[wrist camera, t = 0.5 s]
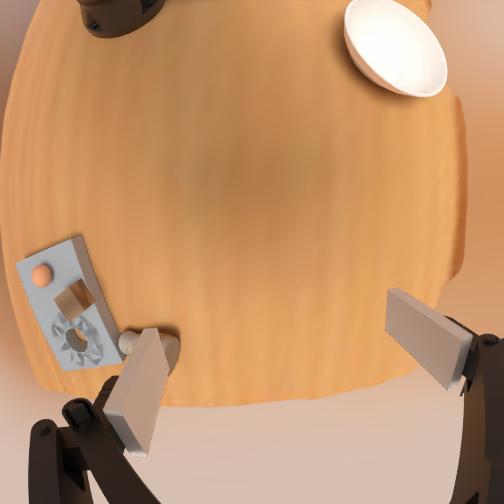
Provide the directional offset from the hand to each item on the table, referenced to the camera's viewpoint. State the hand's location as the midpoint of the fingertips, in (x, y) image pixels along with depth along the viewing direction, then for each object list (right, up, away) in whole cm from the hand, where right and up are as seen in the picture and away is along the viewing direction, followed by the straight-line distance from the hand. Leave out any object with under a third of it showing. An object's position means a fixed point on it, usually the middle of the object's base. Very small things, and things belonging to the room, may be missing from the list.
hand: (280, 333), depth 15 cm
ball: (-33, +1, +19) cm, 38 cm away
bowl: (+20, +38, +22) cm, 48 cm away
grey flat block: (-32, -5, +25) cm, 41 cm away
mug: (-18, -11, +28) cm, 35 cm away
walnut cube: (-28, -2, +22) cm, 35 cm away
